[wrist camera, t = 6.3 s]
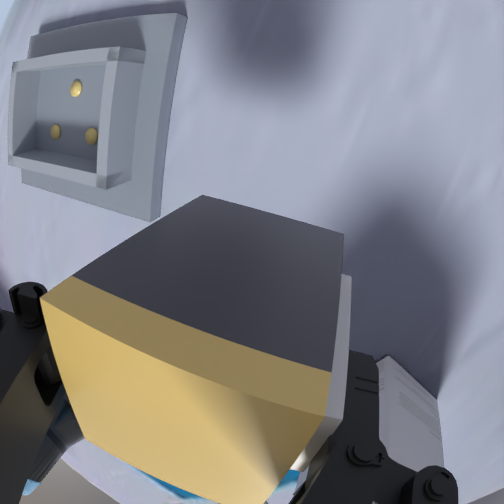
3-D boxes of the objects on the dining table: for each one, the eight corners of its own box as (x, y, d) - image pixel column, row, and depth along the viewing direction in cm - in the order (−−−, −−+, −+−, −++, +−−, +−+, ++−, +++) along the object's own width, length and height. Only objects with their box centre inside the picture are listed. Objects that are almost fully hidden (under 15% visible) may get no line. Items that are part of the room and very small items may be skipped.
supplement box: (314, 396, 29) (274, 536, 16) (388, 351, 24) (383, 520, 11) (369, 436, 29) (351, 559, 16) (439, 400, 25) (447, 539, 12)
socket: (159, 216, 25) (126, 236, 22) (31, 179, 29) (1, 190, 25) (187, 17, 18) (153, 2, 14) (41, 36, 22) (8, 36, 18)
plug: (303, 347, 14) (254, 514, 7) (189, 309, 15) (85, 438, 8) (343, 234, 11) (324, 416, 4) (202, 194, 12) (39, 297, 5)
